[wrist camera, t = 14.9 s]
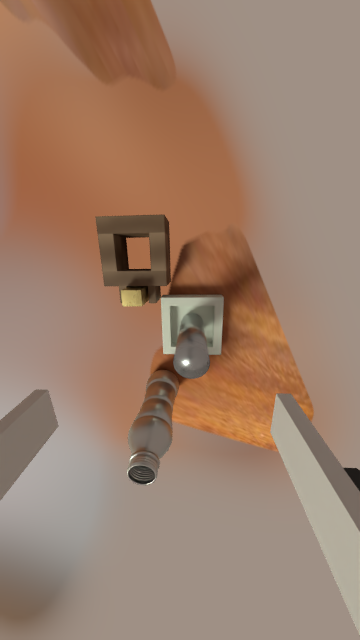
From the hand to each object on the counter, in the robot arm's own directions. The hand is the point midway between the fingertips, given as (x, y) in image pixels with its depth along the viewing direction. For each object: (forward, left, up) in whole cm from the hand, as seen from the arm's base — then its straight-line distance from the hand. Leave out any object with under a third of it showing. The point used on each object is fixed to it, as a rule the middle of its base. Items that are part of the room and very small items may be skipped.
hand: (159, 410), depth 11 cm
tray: (+4, +2, -28) cm, 28 cm away
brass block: (-3, -7, -27) cm, 28 cm away
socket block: (-8, -7, -28) cm, 29 cm away
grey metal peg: (+4, +2, -27) cm, 27 cm away
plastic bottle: (+17, -4, -28) cm, 33 cm away
